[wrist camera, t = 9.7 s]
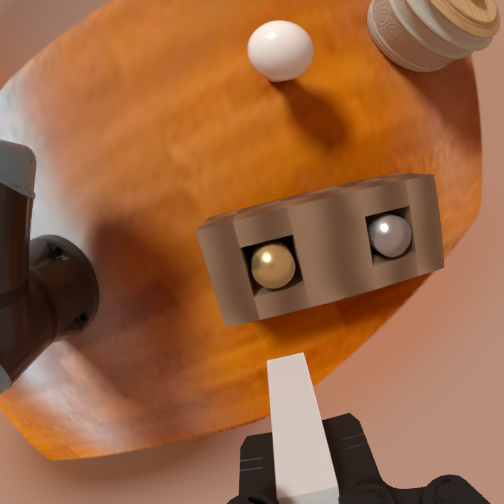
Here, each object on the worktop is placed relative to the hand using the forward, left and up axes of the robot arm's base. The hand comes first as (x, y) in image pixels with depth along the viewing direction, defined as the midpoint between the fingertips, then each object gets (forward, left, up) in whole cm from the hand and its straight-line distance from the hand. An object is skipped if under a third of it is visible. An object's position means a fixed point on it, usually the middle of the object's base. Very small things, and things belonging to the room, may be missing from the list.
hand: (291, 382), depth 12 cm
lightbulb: (+6, +20, -27) cm, 34 cm away
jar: (+26, +24, -27) cm, 44 cm away
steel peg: (+12, 0, -25) cm, 28 cm away
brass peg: (0, 0, -25) cm, 25 cm away
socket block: (+6, 0, -27) cm, 27 cm away
